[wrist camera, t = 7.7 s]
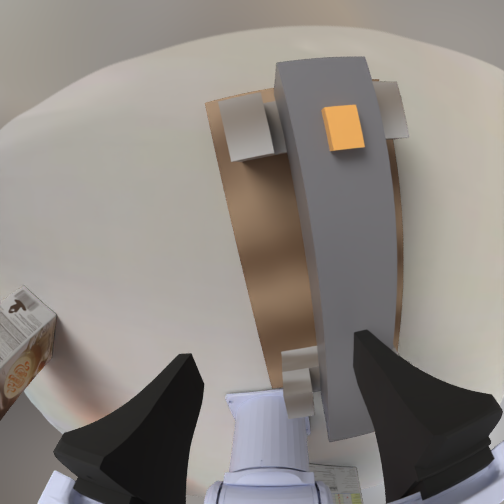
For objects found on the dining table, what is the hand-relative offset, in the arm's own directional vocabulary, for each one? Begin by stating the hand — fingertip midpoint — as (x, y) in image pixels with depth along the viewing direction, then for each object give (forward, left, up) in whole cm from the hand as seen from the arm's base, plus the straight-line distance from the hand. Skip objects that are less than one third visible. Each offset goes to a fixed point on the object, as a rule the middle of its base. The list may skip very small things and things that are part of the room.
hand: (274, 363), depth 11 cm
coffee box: (-2, +29, -10) cm, 31 cm away
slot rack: (+1, -4, -10) cm, 10 cm away
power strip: (+1, -4, -6) cm, 7 cm away
